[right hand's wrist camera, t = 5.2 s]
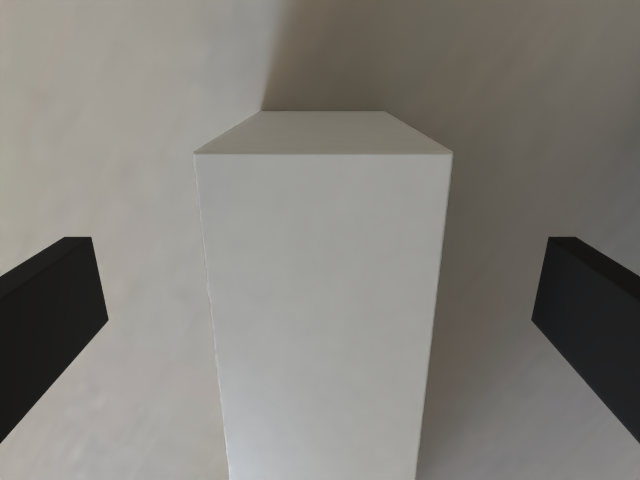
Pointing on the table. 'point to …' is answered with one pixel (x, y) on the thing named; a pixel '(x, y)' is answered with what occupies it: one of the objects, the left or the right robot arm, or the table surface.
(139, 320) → the table surface
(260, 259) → the bar
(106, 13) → the table surface
